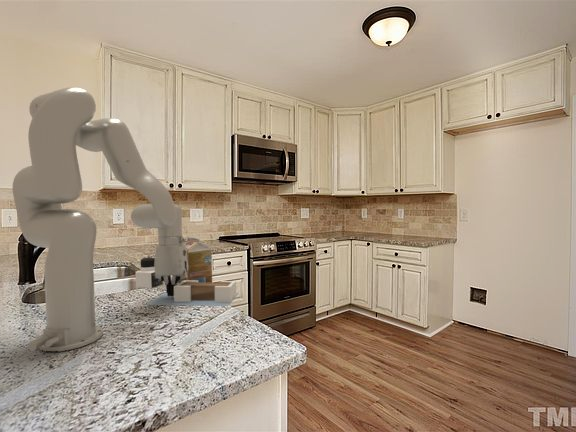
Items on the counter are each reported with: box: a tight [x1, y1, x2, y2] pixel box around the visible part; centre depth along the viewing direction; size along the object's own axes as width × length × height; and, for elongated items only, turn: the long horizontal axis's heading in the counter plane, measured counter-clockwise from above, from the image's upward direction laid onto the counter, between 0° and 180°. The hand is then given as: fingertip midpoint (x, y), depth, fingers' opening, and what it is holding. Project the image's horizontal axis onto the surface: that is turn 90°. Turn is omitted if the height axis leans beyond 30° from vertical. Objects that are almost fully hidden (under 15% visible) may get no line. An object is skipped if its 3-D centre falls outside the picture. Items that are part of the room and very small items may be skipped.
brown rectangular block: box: [180, 282, 230, 300], centre depth 101 cm, size 4×16×5 cm, turn 86°
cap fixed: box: [215, 280, 237, 303], centre depth 100 cm, size 7×5×5 cm
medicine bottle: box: [135, 256, 164, 289], centre depth 119 cm, size 7×7×12 cm
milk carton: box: [177, 236, 213, 284], centre depth 125 cm, size 10×11×19 cm
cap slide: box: [174, 280, 198, 302], centre depth 101 cm, size 8×5×5 cm, turn 176°
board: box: [144, 291, 239, 307], centre depth 101 cm, size 14×27×1 cm, turn 86°
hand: (171, 295), depth 102 cm, fingers closed
